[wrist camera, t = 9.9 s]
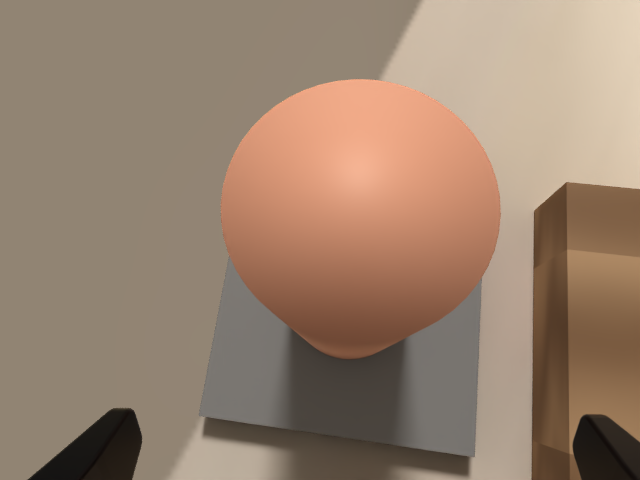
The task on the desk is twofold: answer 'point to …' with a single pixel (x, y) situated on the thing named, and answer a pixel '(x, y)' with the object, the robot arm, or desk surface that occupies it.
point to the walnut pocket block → (584, 319)
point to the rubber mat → (346, 378)
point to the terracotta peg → (360, 214)
